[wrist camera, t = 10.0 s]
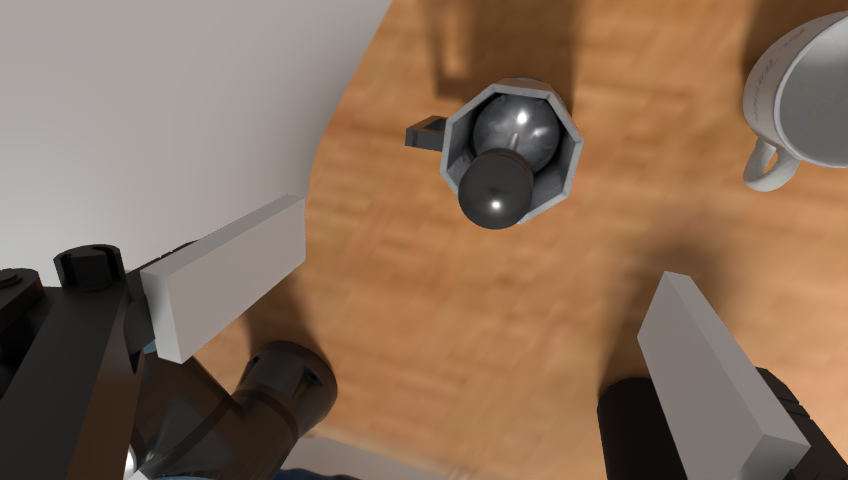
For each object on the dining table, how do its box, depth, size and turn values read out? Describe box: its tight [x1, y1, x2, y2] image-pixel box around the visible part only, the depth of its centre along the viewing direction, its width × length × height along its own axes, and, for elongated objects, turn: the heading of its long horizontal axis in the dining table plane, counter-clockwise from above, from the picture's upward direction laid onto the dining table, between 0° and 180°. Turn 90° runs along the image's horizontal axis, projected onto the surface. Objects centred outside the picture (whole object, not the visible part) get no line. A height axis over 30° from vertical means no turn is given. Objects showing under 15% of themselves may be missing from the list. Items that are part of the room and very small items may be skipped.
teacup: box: [743, 10, 848, 192], centre depth 32 cm, size 14×11×8 cm
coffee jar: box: [597, 378, 688, 480], centre depth 43 cm, size 11×11×18 cm
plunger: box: [458, 94, 559, 229], centre depth 31 cm, size 8×8×20 cm
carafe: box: [405, 77, 584, 224], centre depth 36 cm, size 14×10×13 cm
